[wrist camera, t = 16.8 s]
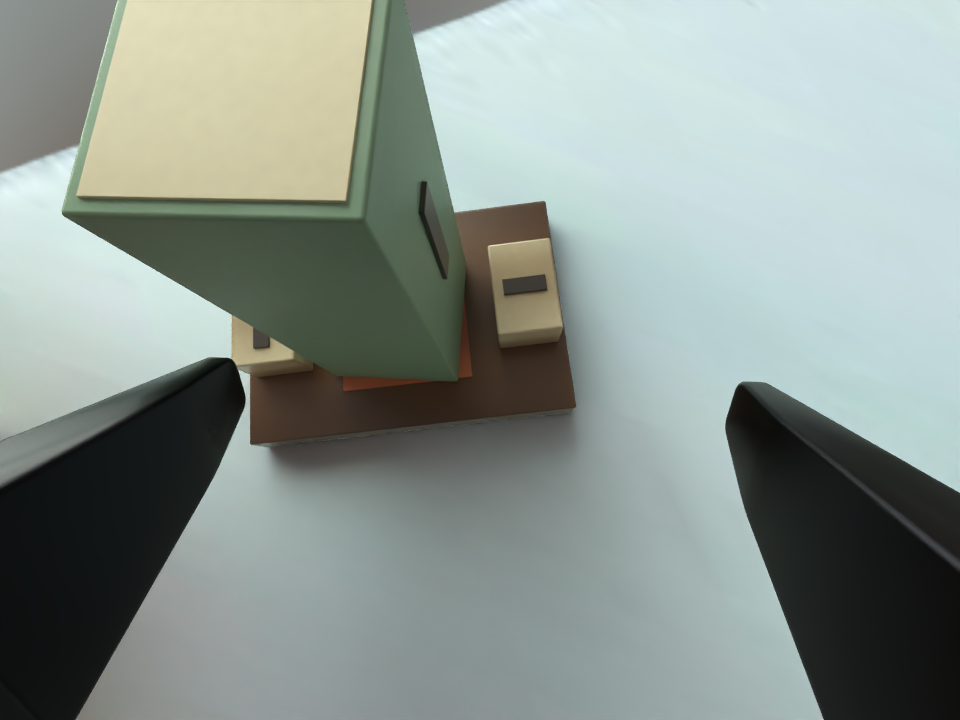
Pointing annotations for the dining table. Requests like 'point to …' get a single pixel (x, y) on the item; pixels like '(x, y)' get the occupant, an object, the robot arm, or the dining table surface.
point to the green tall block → (281, 175)
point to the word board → (483, 354)
